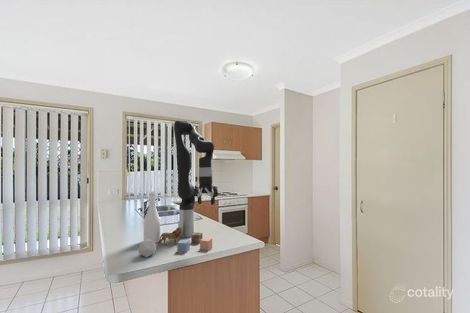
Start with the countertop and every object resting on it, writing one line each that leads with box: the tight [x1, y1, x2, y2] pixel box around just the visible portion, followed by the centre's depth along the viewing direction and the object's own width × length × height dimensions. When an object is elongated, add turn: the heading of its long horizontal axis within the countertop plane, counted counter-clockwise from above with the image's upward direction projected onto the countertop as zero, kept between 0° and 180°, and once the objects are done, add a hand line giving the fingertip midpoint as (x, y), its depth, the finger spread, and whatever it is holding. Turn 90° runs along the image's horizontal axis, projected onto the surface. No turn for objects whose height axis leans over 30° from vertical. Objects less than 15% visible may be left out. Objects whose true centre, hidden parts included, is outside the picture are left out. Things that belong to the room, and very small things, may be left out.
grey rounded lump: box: [137, 239, 157, 258], centre depth 122 cm, size 8×9×10 cm
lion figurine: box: [156, 226, 183, 246], centre depth 140 cm, size 15×5×9 cm, turn 116°
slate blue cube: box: [177, 239, 191, 253], centre depth 128 cm, size 5×5×5 cm
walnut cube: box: [190, 232, 203, 245], centre depth 142 cm, size 5×5×5 cm
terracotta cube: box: [199, 237, 213, 251], centre depth 132 cm, size 5×5×5 cm
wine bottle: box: [143, 190, 161, 244], centre depth 144 cm, size 10×10×30 cm
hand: (206, 204), depth 135 cm, fingers open, 8 cm apart
